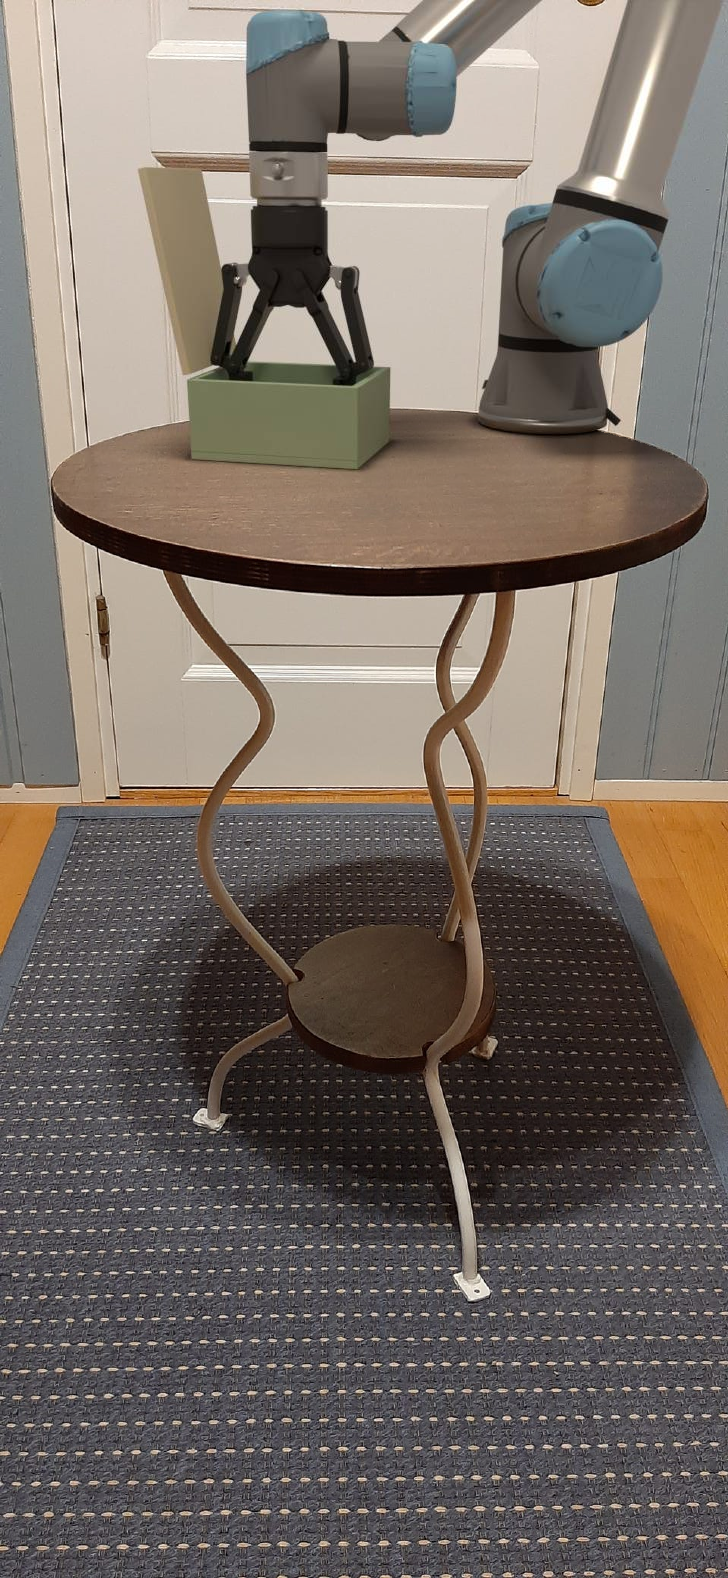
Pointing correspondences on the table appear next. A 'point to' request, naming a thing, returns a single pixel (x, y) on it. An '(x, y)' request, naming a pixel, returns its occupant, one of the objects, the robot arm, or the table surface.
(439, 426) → the table surface
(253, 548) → the table surface
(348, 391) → the chest
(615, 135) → the robot arm
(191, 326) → the lid
